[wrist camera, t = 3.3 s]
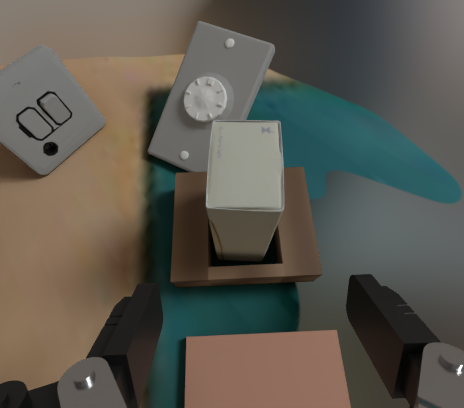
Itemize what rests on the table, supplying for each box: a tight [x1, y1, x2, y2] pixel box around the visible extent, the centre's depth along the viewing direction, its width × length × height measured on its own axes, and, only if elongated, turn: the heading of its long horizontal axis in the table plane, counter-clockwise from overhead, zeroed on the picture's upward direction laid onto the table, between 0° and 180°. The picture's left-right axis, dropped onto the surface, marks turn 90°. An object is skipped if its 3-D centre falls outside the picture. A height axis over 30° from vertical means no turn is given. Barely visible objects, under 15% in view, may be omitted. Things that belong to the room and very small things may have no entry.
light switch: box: [148, 21, 275, 172], centre depth 30 cm, size 8×6×14 cm
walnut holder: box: [170, 167, 322, 288], centre depth 26 cm, size 12×10×3 cm
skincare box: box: [206, 120, 284, 261], centre depth 22 cm, size 6×4×12 cm
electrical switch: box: [0, 44, 105, 175], centre depth 29 cm, size 9×5×9 cm, turn 143°
